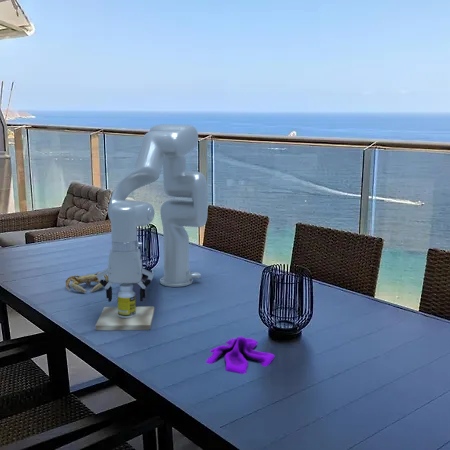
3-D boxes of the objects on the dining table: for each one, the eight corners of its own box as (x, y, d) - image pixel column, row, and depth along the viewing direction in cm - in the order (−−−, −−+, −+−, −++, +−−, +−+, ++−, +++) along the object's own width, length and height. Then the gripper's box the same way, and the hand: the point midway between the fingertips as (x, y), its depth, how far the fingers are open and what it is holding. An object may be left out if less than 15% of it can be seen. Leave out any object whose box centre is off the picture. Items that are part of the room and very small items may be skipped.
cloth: (245, 337, 156) (246, 317, 154) (290, 360, 141) (291, 338, 140) (180, 357, 142) (180, 335, 141) (222, 384, 128) (222, 360, 127)
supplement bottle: (132, 319, 163) (131, 288, 161) (115, 317, 164) (114, 287, 162) (138, 313, 168) (137, 283, 166) (122, 311, 169) (121, 281, 167)
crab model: (67, 296, 189) (67, 281, 188) (64, 286, 200) (63, 271, 199) (112, 291, 194) (111, 277, 193) (106, 281, 206) (106, 267, 205)
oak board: (154, 310, 175) (154, 306, 174) (150, 329, 159) (150, 325, 159) (104, 311, 174) (104, 306, 173) (95, 330, 158) (95, 325, 158)
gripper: (154, 243, 166) (155, 295, 169) (97, 243, 165) (99, 296, 168) (152, 249, 159) (153, 304, 162) (93, 249, 158) (95, 304, 161)
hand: (126, 300), depth 165 cm, fingers open, 9 cm apart
